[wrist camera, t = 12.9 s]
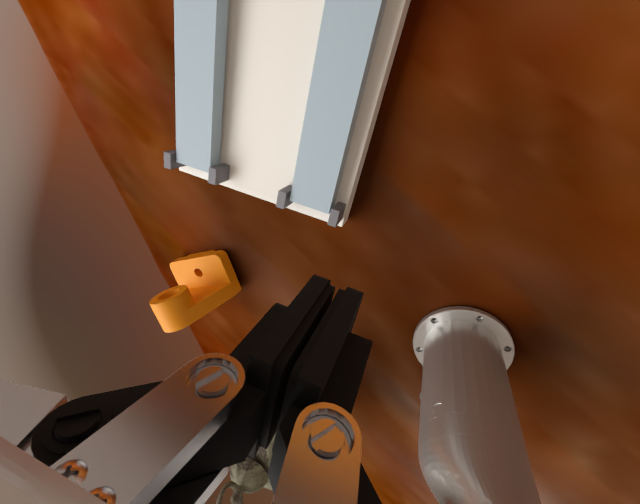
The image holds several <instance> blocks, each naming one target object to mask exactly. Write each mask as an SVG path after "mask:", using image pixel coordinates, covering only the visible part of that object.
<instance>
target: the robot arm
mask: <svg viewBox="0 0 640 504" xmlns="http://www.w3.org/2000/svg"><path fill="white" fill-rule="evenodd" d="M334 290H335V287H334V286H331V285H330V280H328V279H325V278H323V277H320V276H317V275H313V276H312V278H311V279H310V280H309V281H308V283H307V284H306V285H305V286H304V288H303V289H302V290H301V291H300V293H299V294H298V295H297V296H296V298H295V299H294V300H293V301H292V303H291V304H290V305H289V306H288V307H286V306H284V305H281V304H279V303H276V304H275V305H273V306H272V308H271V309H270V310H269V311H268V312H267V313H266V314H265V315H264V317H263V318H262V319H261V320H260V321H259V322H258V323H257V324H256V326H255V327H254V328H253V329H252V330H251V331H250V332H249V334H248V335H247V336H246V337H245V338H244V339H243V340H242V341H241V343H240V344H239V345H238V346H237V347H236V348H235V349H234V350H233V352H232V353H231V354H230V355H227V354H221V353H208V354H205V355H201V356H198V357H196V358H195V359H193V360H191V361H190V362H188V363H187V364H186V365H184V366H183V367H182V368H180V369H179V370H178V371H176V372H175V373H174V374H172V375H171V376H170V377H168V378H167V379H166V380H164V381H160V382H155V383H150V384H145V385H140V386H135V387H129V388H124V389H119V390H114V391H110V392H105V393H100V394H94V395H89V396H84V397H81V398H77V399H74V400H67V397H66V395H65V394H61V393H57V392H52V391H48V390H43V389H39V388H35V387H31V386H27V385H22V384H18V383H14V382H9V381H5V380H1V379H0V504H204V503H205V502H206V500H207V499H208V498H209V497H210V495H211V494H212V493H213V492H214V490H215V489H216V488H217V487H218V485H219V484H220V483H221V481H222V480H223V479H224V478H225V476H226V475H227V474H228V472H229V470H230V468H231V467H232V465H234V464H237V463H240V462H243V461H245V460H246V458H247V456H250V457H252V458H254V457H255V455H256V453H257V452H258V450H259V448H260V447H262V448H264V449H267V448H268V446H269V444H270V442H271V440H272V439H273V437H274V435H275V433H276V435H275V439H274V443H273V447H272V453H273V454H272V458H271V462H270V467H269V471H268V476H269V479H270V483H271V486H272V490H273V493H274V498H273V501H272V504H382V503H381V501H380V499H379V497H378V495H377V493H376V491H375V489H374V488H373V486H372V484H371V482H370V480H369V478H368V476H367V474H366V472H365V470H364V468H363V466H362V464H361V449H362V439H361V432H360V429H359V427H358V424H357V422H356V421H355V420H354V418H353V417H352V415H351V412H352V409H353V406H354V402H355V399H356V396H357V392H358V389H359V386H360V383H361V379H362V376H363V373H364V369H365V366H366V363H367V360H368V356H369V353H370V350H371V347H372V343H373V341H370V340H368V339H365V338H363V337H360V336H358V335H355V334H353V333H351V331H352V328H353V325H354V322H355V319H356V316H357V313H358V310H359V307H360V303H361V300H362V297H363V294H364V293H363V292H360V291H357V290H355V289H352V288H349V287H347V288H346V290H342V289H339V290H338V292H337V294H336V295H335V297H334V299H333V301H332V298H333V294H334ZM331 301H332V302H331ZM413 349H414V352H415V355H416V357H417V359H418V361H419V362H420V363H421V365H422V366H423V375H422V391H421V393H420V396H419V397H420V399H421V408H420V424H419V439H418V457H419V463H420V467H421V470H422V473H423V476H424V478H425V480H426V482H427V484H428V486H429V488H430V489H431V491H432V493H433V494H434V496H435V497H436V499H437V500H438V502H439V503H440V504H541V501H540V498H539V494H538V491H537V487H536V484H535V480H534V477H533V473H532V469H531V465H530V461H529V457H528V453H527V450H526V446H525V442H524V438H523V434H522V430H521V426H520V422H519V418H518V414H517V410H516V406H515V402H514V398H513V394H512V390H511V386H510V382H509V378H508V374H507V370H508V368H509V367H510V365H511V364H512V362H513V358H514V355H515V350H514V343H513V340H512V337H511V335H510V332H509V331H508V329H507V328H506V327H505V325H504V324H503V323H502V322H501V321H499V320H498V319H497V318H496V317H494V316H492V315H491V314H489V313H487V312H485V311H482V310H480V309H476V308H472V307H465V306H451V307H445V308H441V309H438V310H436V311H433V312H431V313H430V314H428V315H426V316H425V317H424V318H423V319H422V320H421V321H420V322H419V324H418V325H417V327H416V329H415V332H414V336H413Z"/></svg>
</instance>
